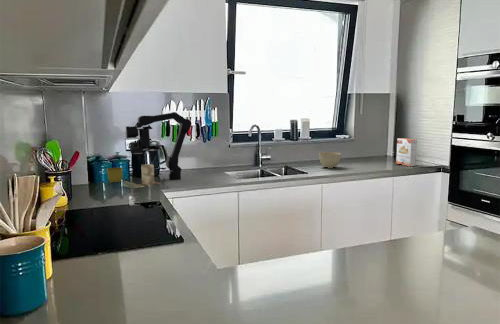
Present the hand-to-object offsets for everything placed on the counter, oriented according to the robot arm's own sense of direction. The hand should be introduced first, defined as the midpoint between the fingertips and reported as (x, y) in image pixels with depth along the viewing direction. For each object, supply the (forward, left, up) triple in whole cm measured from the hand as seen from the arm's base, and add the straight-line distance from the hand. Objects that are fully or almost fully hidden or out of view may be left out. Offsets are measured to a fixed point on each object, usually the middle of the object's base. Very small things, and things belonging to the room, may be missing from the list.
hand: (146, 163), depth 230 cm
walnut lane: (+2, +9, -12) cm, 15 cm away
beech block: (0, +8, -11) cm, 13 cm away
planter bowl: (-134, -19, -13) cm, 136 cm away
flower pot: (+18, -8, -13) cm, 23 cm away
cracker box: (-193, -7, -13) cm, 193 cm away
